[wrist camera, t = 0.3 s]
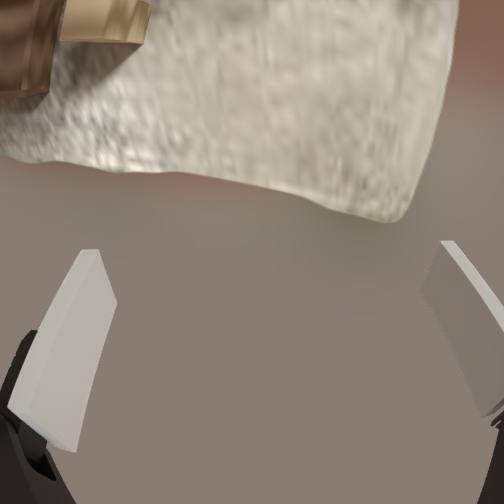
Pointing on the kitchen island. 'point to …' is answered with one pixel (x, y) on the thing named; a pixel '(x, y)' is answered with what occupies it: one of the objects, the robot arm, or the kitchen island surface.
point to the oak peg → (105, 21)
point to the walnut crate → (27, 45)
